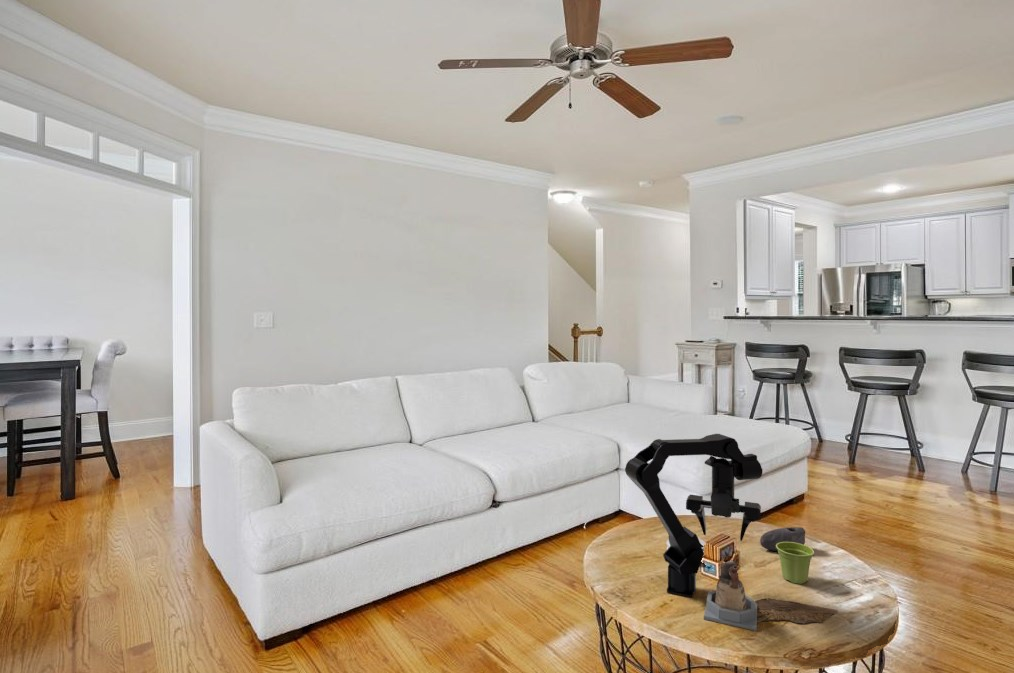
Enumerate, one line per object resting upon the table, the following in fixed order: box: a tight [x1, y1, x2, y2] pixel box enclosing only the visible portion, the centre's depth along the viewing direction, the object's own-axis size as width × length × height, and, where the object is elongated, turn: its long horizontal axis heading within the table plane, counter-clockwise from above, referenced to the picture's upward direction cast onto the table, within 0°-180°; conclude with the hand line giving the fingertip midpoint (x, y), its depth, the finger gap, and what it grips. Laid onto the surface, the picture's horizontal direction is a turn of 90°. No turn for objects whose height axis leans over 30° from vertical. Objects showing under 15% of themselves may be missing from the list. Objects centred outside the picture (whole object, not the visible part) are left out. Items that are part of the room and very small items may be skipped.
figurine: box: [715, 560, 747, 612], centre depth 130 cm, size 7×7×12 cm
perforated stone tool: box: [759, 526, 806, 552], centre depth 167 cm, size 15×5×7 cm, turn 91°
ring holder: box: [703, 590, 758, 632], centre depth 131 cm, size 12×12×3 cm
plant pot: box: [776, 542, 815, 585], centre depth 148 cm, size 9×9×9 cm
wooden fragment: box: [754, 597, 838, 625], centre depth 131 cm, size 26×11×1 cm, turn 85°
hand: (722, 537), depth 145 cm, fingers open, 9 cm apart
